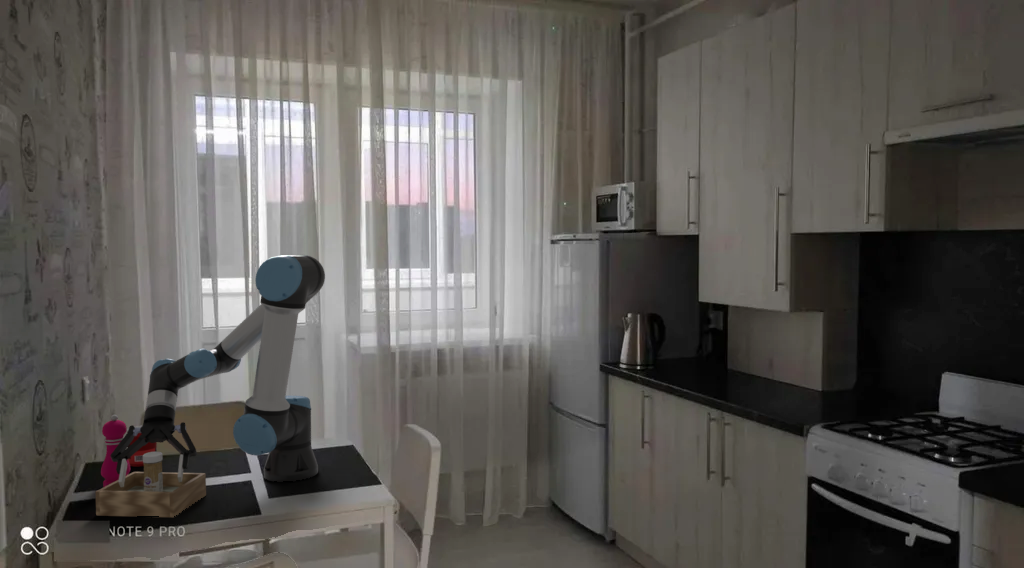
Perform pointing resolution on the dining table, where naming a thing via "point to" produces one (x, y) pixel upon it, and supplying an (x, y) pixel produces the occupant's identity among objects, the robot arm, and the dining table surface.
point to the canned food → (141, 451)
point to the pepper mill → (112, 449)
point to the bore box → (150, 496)
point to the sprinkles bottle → (153, 471)
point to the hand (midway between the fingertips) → (150, 482)
